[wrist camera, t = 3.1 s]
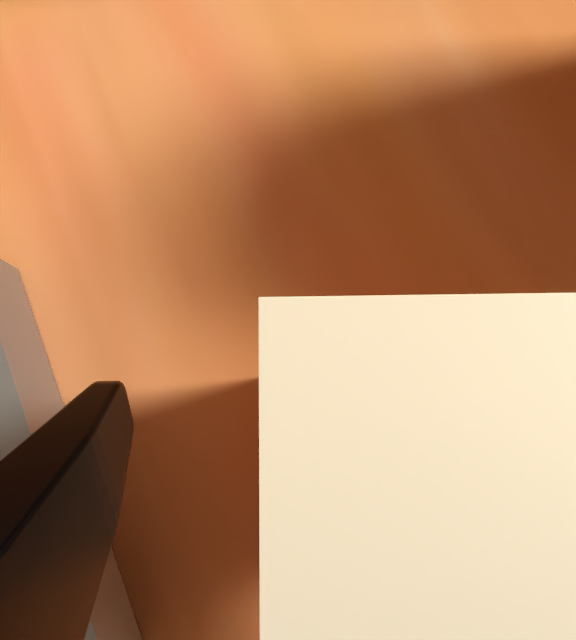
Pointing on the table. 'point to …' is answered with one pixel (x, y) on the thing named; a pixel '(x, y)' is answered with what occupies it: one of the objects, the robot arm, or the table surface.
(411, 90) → the table surface
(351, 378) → the block
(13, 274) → the plate
